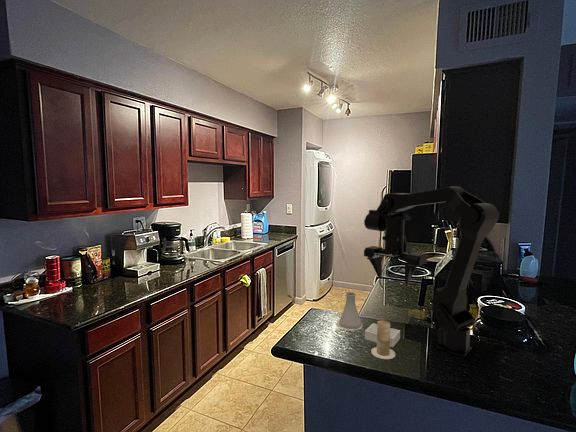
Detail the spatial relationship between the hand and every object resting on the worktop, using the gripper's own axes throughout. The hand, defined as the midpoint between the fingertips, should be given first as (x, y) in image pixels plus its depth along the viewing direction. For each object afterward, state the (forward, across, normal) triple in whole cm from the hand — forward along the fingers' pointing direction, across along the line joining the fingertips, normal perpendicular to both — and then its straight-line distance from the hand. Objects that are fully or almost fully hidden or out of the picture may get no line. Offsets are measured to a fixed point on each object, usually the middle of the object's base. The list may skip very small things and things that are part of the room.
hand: (393, 281), depth 98 cm
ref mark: (+13, -8, +20) cm, 25 cm away
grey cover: (+13, -4, +13) cm, 19 cm away
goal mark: (+13, +8, +12) cm, 19 cm away
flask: (+13, +8, +12) cm, 19 cm away
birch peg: (+13, -8, +20) cm, 25 cm away
